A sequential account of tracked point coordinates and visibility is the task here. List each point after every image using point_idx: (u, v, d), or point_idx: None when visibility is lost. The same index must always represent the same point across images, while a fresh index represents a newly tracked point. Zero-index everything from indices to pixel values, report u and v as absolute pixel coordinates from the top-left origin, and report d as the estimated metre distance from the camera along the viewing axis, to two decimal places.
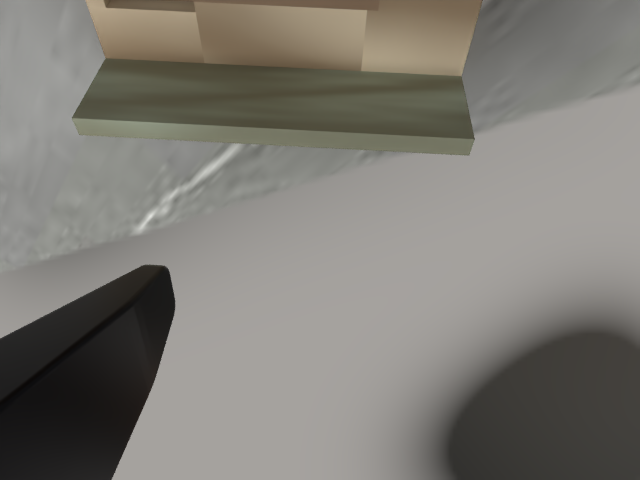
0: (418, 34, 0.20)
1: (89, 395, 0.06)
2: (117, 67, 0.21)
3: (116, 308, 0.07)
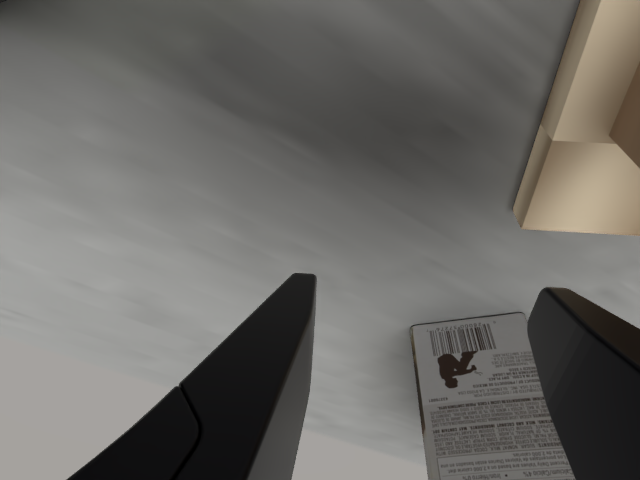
0: None
1: (291, 407, 0.06)
2: None
3: (301, 319, 0.07)
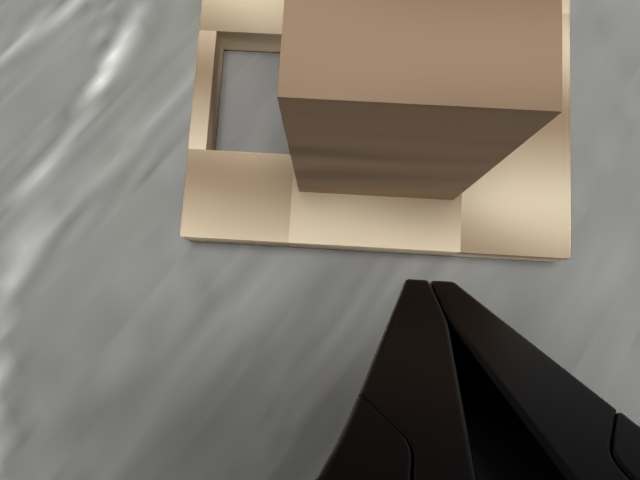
0: None
1: None
2: None
3: (441, 327, 0.07)
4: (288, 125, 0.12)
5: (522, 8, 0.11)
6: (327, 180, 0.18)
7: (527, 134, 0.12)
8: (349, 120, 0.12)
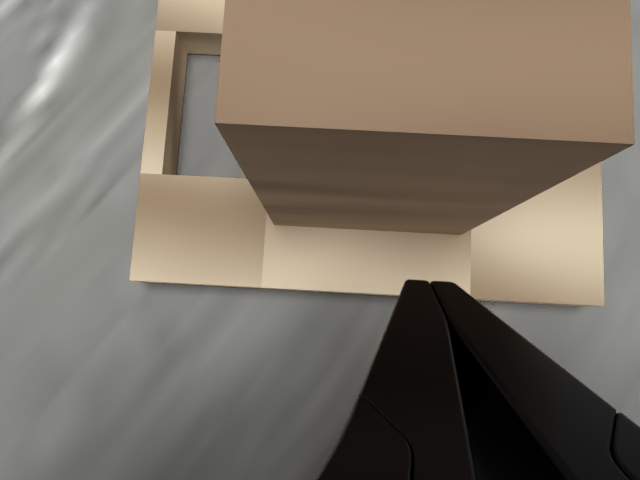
0: None
1: None
2: None
3: (441, 327, 0.07)
4: (241, 158, 0.09)
5: None
6: (306, 215, 0.14)
7: (573, 171, 0.09)
8: (324, 152, 0.08)
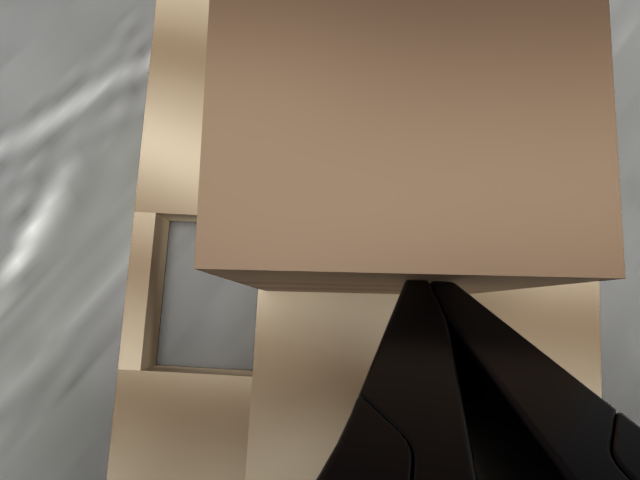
0: None
1: None
2: None
3: (441, 327, 0.07)
4: (225, 276, 0.09)
5: (556, 119, 0.07)
6: (297, 289, 0.14)
7: (564, 283, 0.08)
8: (309, 276, 0.08)
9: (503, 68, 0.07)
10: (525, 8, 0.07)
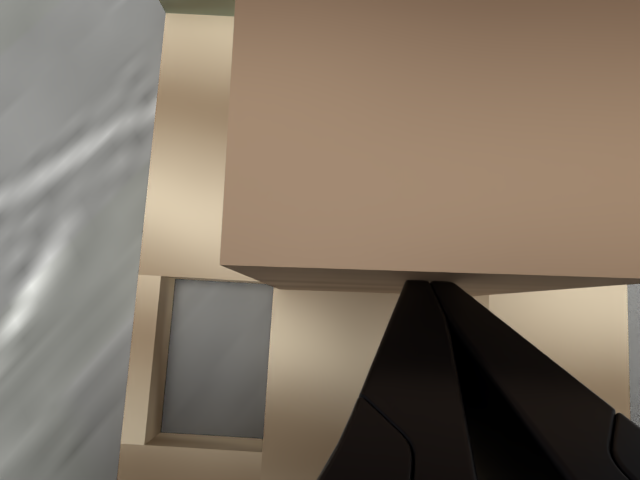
0: (225, 66, 0.16)
1: None
2: None
3: (441, 327, 0.07)
4: (248, 273, 0.08)
5: (611, 107, 0.07)
6: (314, 288, 0.13)
7: (611, 284, 0.08)
8: (339, 274, 0.08)
9: (554, 51, 0.07)
10: None
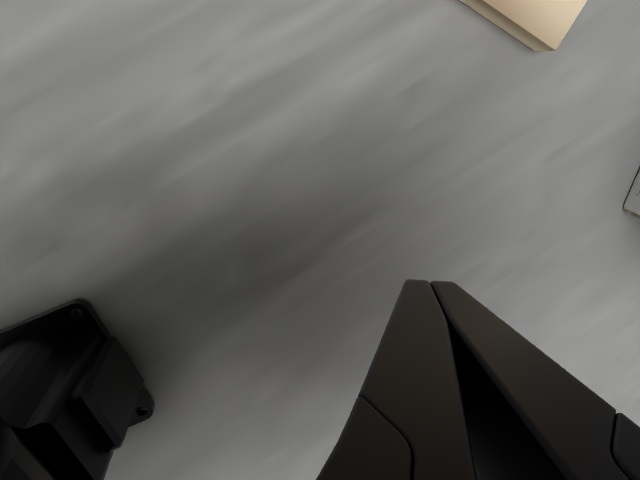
0: None
1: None
2: None
3: (441, 327, 0.07)
4: None
5: None
6: None
7: None
8: None
9: None
10: None
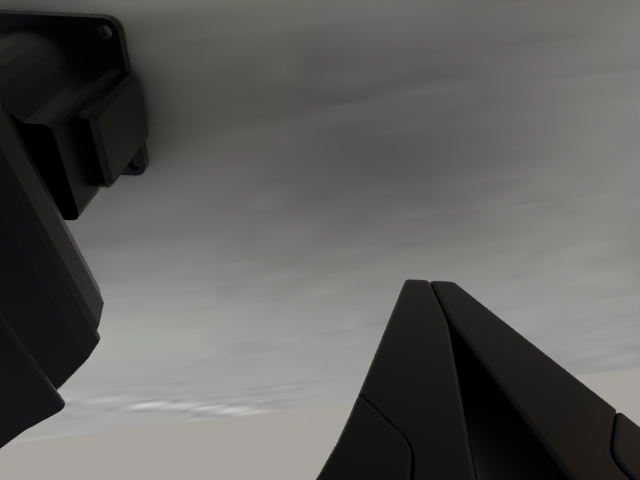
0: None
1: None
2: None
3: (441, 327, 0.07)
4: None
5: None
6: None
7: None
8: None
9: None
10: None
